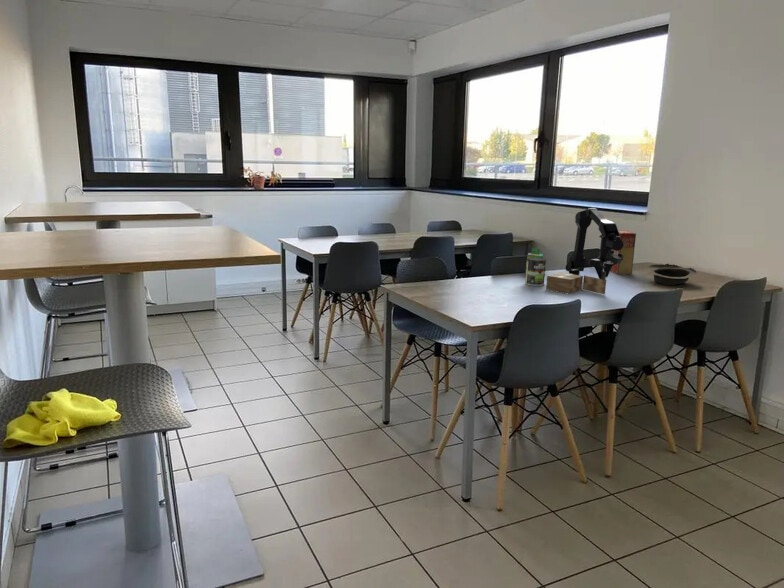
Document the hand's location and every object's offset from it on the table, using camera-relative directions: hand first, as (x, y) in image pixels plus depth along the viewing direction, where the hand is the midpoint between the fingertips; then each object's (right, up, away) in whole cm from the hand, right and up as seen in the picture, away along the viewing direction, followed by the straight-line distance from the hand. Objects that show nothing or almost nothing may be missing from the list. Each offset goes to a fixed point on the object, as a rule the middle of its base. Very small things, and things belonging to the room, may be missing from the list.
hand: (603, 277), depth 292 cm
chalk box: (-22, +4, +53) cm, 58 cm away
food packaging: (+32, +5, +58) cm, 66 cm away
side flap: (-3, -7, +5) cm, 9 cm away
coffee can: (-29, -3, +23) cm, 38 cm away
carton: (-17, -6, +11) cm, 21 cm away
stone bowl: (+49, -2, +30) cm, 58 cm away
